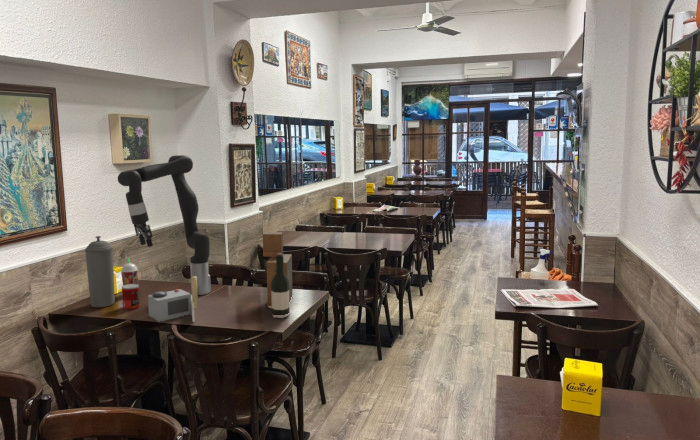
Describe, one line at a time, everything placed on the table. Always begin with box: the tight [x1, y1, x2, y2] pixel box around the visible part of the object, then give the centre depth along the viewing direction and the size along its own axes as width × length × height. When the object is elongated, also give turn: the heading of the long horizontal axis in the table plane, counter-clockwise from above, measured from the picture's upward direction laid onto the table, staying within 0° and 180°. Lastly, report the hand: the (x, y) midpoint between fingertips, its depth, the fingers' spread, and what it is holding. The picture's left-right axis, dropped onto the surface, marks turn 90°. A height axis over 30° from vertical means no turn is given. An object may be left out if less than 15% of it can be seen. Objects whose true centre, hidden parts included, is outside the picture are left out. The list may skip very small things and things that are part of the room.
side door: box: [190, 276, 199, 323], centre depth 241 cm, size 13×3×21 cm, turn 19°
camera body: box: [147, 288, 192, 323], centre depth 246 cm, size 16×11×11 cm
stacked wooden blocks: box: [262, 231, 293, 306], centre depth 265 cm, size 19×14×35 cm
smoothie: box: [120, 257, 139, 286], centre depth 278 cm, size 8×8×20 cm
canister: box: [84, 235, 116, 308], centre depth 260 cm, size 13×13×35 cm
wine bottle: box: [271, 253, 290, 315], centre depth 245 cm, size 8×8×30 cm
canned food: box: [121, 284, 141, 310], centre depth 258 cm, size 8×8×11 cm
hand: (146, 245), depth 248 cm, fingers open, 8 cm apart
